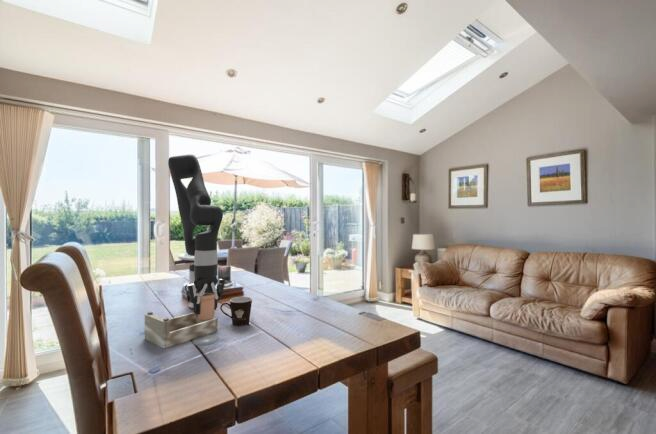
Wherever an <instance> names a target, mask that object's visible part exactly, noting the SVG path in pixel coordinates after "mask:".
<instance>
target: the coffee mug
mask: <svg viewBox="0 0 656 434" xmlns="http://www.w3.org/2000/svg"><path fill="white" fill-rule="evenodd" d="M252 304H253V298H252V297H250V296H236V297H232V298H231V299H230V300H229V303H228V302H224V303H222V304H221V305H220V311H221V312H222V313H223V314H224V315H225V316H226V317H228V318H230V319H231V323H232V325H233V326H235V327H241V326H242V327H243V326H249V325H250V318H251V312H252ZM224 305H227V306H228V307H229V308H230V314H229V313H226V312H225V311H224V310H223V306H224Z"/></svg>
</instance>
